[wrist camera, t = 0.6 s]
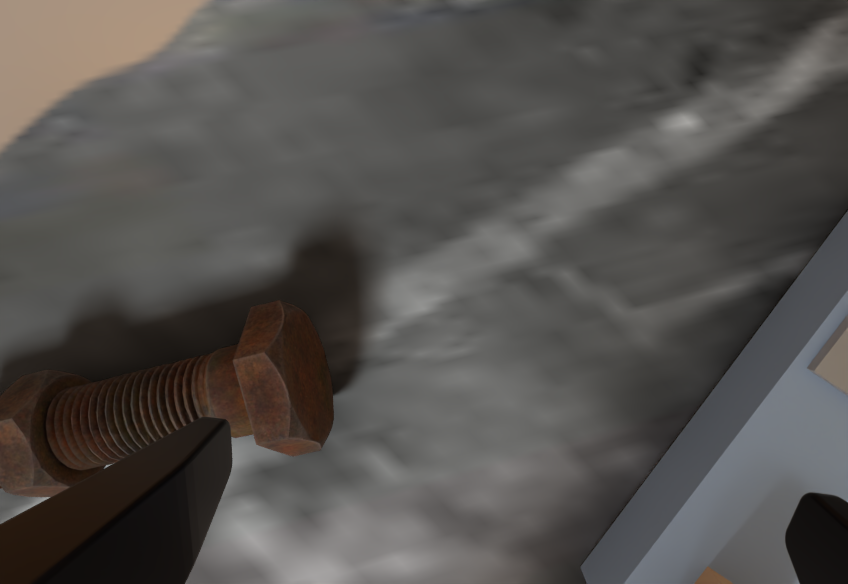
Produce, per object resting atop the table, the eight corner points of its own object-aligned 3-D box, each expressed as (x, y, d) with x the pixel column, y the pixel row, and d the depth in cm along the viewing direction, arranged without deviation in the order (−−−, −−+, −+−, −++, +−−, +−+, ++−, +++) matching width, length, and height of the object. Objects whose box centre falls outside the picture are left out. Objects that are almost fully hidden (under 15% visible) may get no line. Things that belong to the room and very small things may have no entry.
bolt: (22, 410, 26) (330, 336, 24) (6, 527, 23) (343, 453, 22) (-110, 378, 20) (272, 280, 19) (-148, 523, 18) (281, 427, 17)
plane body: (719, 660, 23) (836, 840, 16) (580, 567, 23) (637, 708, 16) (1004, 302, 21) (1276, 331, 14) (854, 201, 21) (1053, 180, 14)
